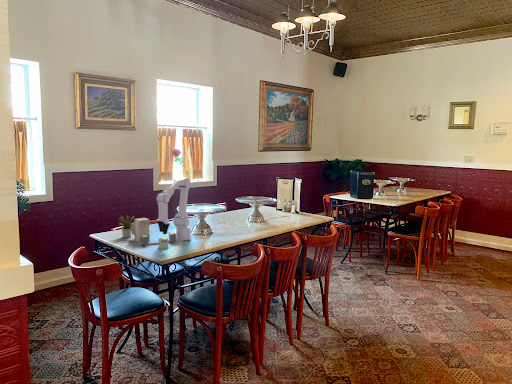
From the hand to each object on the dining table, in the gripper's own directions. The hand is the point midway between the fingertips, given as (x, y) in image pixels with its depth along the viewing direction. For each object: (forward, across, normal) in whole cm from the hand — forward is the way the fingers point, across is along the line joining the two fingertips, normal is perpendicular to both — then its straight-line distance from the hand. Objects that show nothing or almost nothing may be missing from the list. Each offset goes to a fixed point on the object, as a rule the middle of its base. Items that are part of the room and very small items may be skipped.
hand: (163, 232), depth 250 cm
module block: (+10, 0, 0) cm, 10 cm away
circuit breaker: (+10, -26, -9) cm, 29 cm away
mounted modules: (+9, -11, 0) cm, 14 cm away
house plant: (+10, -38, -17) cm, 43 cm away
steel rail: (+9, -11, 0) cm, 14 cm away
